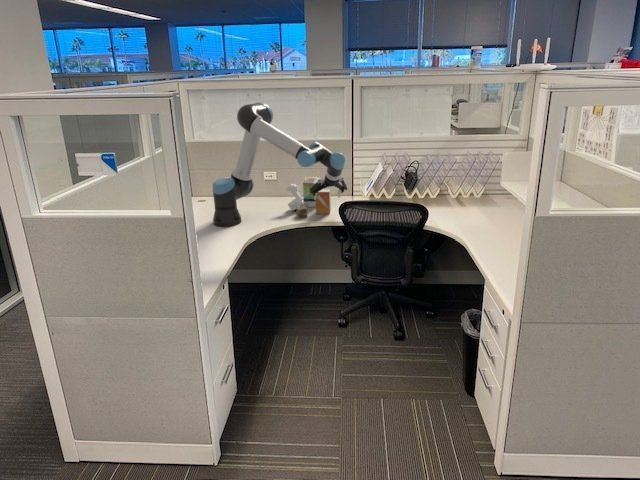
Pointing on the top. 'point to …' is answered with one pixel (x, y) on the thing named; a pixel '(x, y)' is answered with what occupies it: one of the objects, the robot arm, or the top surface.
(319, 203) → the small box
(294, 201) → the voxel character
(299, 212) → the walnut block
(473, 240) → the top surface
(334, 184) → the robot arm
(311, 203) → the tea box
